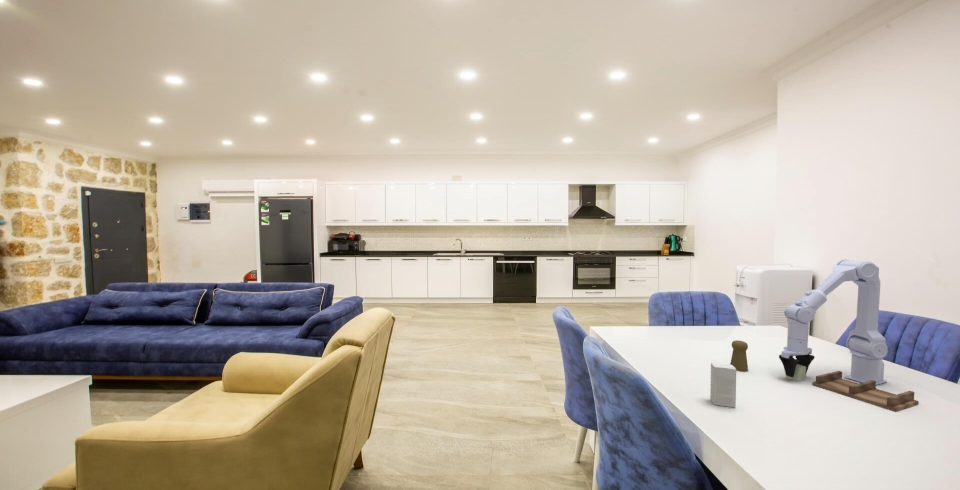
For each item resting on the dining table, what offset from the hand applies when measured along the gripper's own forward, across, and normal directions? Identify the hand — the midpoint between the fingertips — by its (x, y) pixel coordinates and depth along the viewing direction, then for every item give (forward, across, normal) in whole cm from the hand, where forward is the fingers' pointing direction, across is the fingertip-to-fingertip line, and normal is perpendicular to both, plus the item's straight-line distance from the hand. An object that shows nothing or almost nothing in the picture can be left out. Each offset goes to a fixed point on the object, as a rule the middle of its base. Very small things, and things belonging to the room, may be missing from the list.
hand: (795, 374), depth 138 cm
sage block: (+2, 0, 0) cm, 2 cm away
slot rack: (+1, -6, +16) cm, 17 cm away
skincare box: (+2, +45, +4) cm, 45 cm away
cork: (+2, +10, -14) cm, 17 cm away
